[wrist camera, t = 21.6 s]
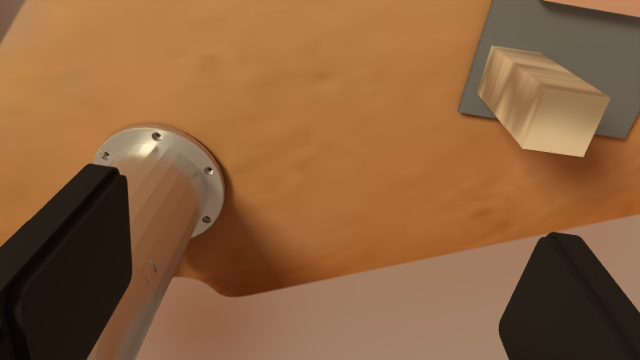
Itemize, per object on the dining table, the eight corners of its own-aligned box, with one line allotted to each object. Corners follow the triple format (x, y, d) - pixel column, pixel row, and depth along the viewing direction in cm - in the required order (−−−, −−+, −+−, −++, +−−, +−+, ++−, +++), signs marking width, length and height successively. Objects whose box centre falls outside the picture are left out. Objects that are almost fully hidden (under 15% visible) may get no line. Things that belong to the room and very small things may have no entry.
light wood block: (522, 99, 39) (583, 157, 30) (476, 92, 39) (522, 148, 30) (540, 52, 37) (610, 97, 28) (491, 45, 37) (546, 88, 28)
